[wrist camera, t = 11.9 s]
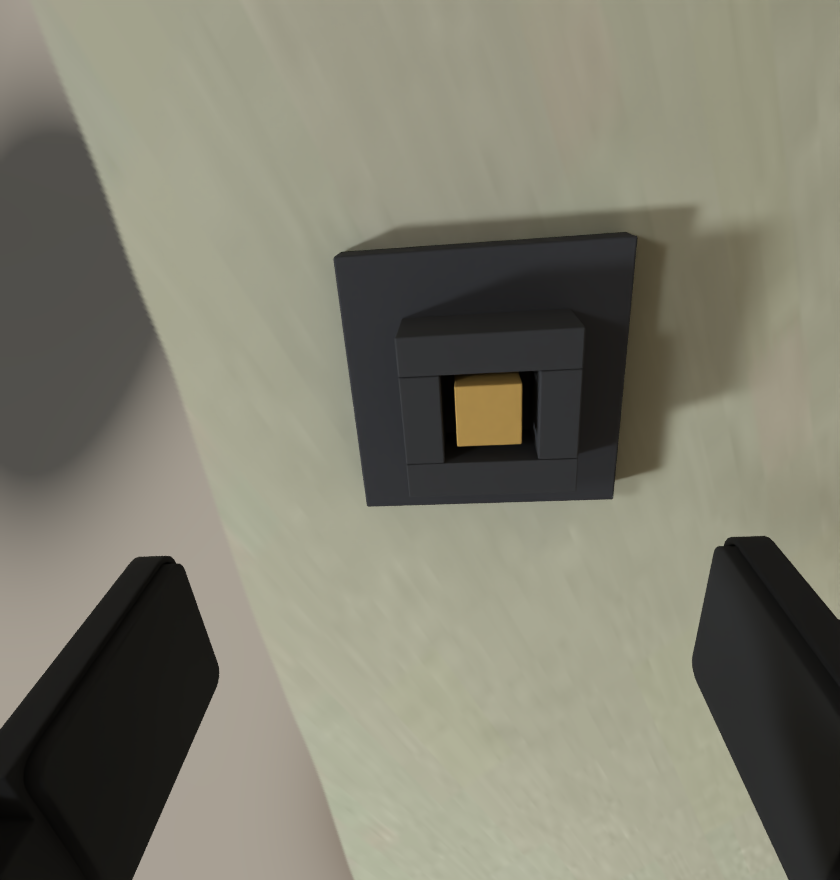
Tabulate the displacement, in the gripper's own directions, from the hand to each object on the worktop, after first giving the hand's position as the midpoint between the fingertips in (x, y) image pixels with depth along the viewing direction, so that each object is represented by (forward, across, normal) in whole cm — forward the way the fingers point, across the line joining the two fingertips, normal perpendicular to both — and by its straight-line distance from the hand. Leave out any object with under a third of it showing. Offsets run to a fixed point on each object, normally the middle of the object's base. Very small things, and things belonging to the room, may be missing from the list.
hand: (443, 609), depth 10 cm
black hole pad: (+15, -2, +2) cm, 16 cm away
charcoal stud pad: (+17, -2, +2) cm, 17 cm away
